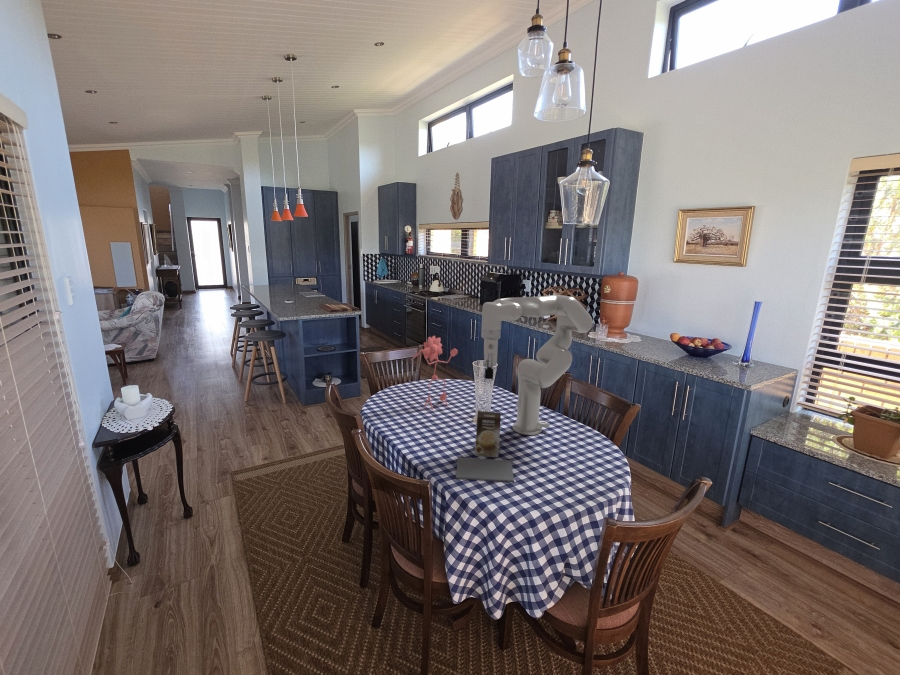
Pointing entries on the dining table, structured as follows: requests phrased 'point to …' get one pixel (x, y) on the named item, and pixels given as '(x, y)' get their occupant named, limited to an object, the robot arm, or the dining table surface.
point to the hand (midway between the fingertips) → (488, 378)
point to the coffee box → (487, 434)
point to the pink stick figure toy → (432, 352)
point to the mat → (484, 469)
